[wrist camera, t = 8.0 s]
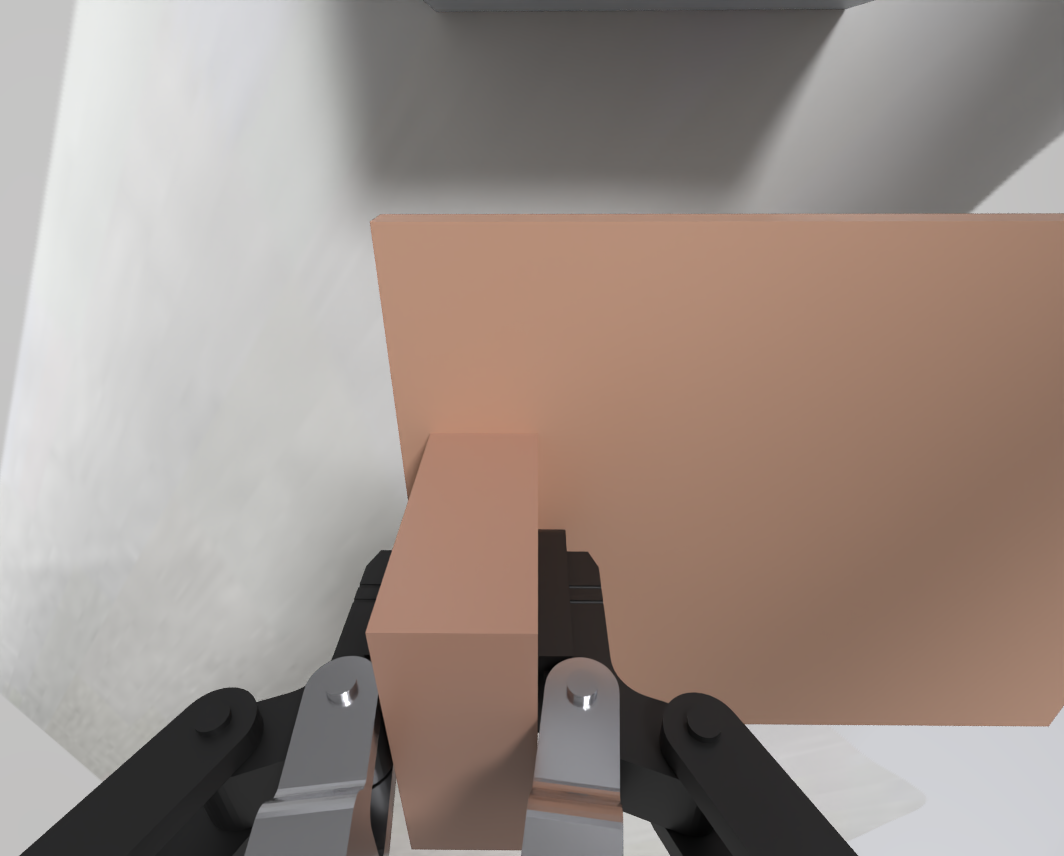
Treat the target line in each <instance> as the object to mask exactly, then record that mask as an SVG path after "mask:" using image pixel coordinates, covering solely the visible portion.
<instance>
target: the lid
mask: <svg viewBox="0 0 1064 856" xmlns="http://www.w3.org/2000/svg"><path fill="white" fill-rule="evenodd" d="M370 226H371V233H372V241H373V248H374V255H375V262H376V270H377V277H378V284H379V292H380V299H381V306H382V313H383V321H384V328H385V335H386V343H387V350H388V357H389V365H390V372H391V379H392V386H393V394H394V401H395V408H396V416H397V423H398V430H399V437H400V445H401V452H402V459H403V467H404V474H405V481H406V488H407V496H408V503H407V506H406V509H405V513H404V516H403V519H402V522H401V525H400V528H399V531H398V534H397V537H396V540H395V543H394V546H393V549H392V552H391V556H390V559H389V562H388V565H387V568H386V571H385V574H384V577H383V580H382V583H381V586H380V589H379V592H378V595H377V599H376V602H375V605H374V608H373V611H372V614H371V617H370V620H369V623H368V626H367V629H366V632H365V634H366V638H367V643H368V648H369V652H370V657H371V662H372V666H373V671H374V676H375V680H376V685H377V690H378V694H379V699H380V704H381V708H382V713H383V718H384V722H385V727H386V732H387V736H388V741H389V746H390V750H391V755H392V760H393V765H394V769H395V774H396V779H397V783H398V788H399V793H400V797H401V802H402V807H403V811H404V816H405V821H406V825H407V830H408V835H409V839H410V844H411V849H435V850H522V844H523V837H524V829H525V821H526V813H527V806H528V800H529V795H530V791H532V786H533V779H534V771H535V763H536V755H537V740H538V529H565V531H566V546H567V551H585V552H589V554H590V555H591V557H592V558H593V560H594V561H595V563H596V564H597V565H598V567H599V572H600V580H601V589H602V595H603V604H604V611H605V619H606V627H607V634H608V642H609V650H610V658H611V662H612V666H613V668H614V670H615V672H616V674H617V675H618V677H619V678H620V679H621V680H622V681H623V682H624V683H625V684H626V685H627V686H628V687H630V688H631V689H633V690H634V691H636V692H638V693H640V694H642V695H645V696H648V697H651V698H654V699H657V700H660V701H664V702H667V703H669V702H670V701H671V700H672V699H673V698H675V697H677V696H679V695H681V694H684V693H691V692H697V693H703V694H707V695H710V696H712V697H715V698H717V699H718V700H720V701H722V702H723V703H724V704H726V705H727V706H728V707H729V708H730V709H731V710H732V711H733V712H734V713H735V714H736V715H737V716H738V718H739V719H740V720H741V721H742V722H743V723H744V724H794V725H929V726H932V725H933V726H1049V725H1050V724H1051V722H1052V721H1053V720H1054V718H1055V717H1056V716H1057V714H1058V713H1059V711H1060V710H1061V709H1062V707H1063V706H1064V214H1063V213H1061V214H1060V213H1059V214H380V215H379V216H377V217H376V218H375V219H373V220H372V221H370Z"/></svg>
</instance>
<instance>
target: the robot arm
mask: <svg viewBox="0 0 1064 856" xmlns="http://www.w3.org/2000/svg"><path fill="white" fill-rule="evenodd" d="M391 552H392V550H381V551H380V552H379V553H378V554H377V555H376V556H375V557H374V559H373V560H372V561H371V562H370V563H369V564H368V565H367V566H366V569H365V571H364V574H363V577H362V579H361V582H360V588H358V590H357V593H356V596H355V598H354V602H353V604H352V607H351V609H350V612H349V615H348V617H347V620H346V623H345V625H344V628H343V631H342V634H341V636H340V639H339V642H338V644H337V647H336V650H335V653H334V655H333V658H332V660H331V661H330V662H328V663H326V664H325V665H323V666H322V667H320V668H319V669H318V670H317V671H316V672H315V673H314V674H313V675H312V676H311V677H310V679H309V680H308V682H307V684H306V686H305V687H303V688H301V689H299V690H296V691H294V692H291V693H288V694H284V695H280V696H277V697H273V698H270V699H266V700H263V701H259V702H256V701H255V698H254V697H253V696H252V694H251V693H249V692H248V691H246V690H244V689H241V688H223V689H219V690H216V691H213V692H210V693H208V694H206V695H204V696H202V697H201V698H199V699H198V700H196V701H195V702H193V703H192V704H191V705H190V706H188V707H187V708H186V709H185V710H184V711H183V712H182V713H181V714H179V715H178V716H177V717H176V718H175V719H174V720H173V721H171V722H170V723H169V724H168V725H167V726H166V727H165V728H164V729H162V730H161V731H160V732H159V733H158V734H157V735H156V736H154V737H153V738H152V739H151V740H150V741H149V742H148V743H147V744H145V745H144V746H143V747H142V748H141V749H140V750H139V751H137V752H136V753H135V754H134V755H133V756H132V757H131V758H130V759H128V760H127V761H126V762H125V763H124V764H123V765H122V766H120V767H119V768H118V769H117V770H116V771H115V772H114V773H113V774H111V775H110V776H109V777H108V778H107V779H106V780H105V781H103V782H102V783H101V784H100V785H99V786H98V787H97V788H96V789H94V790H93V791H92V792H91V793H90V794H89V795H88V796H86V797H85V798H84V799H83V800H82V801H81V802H80V803H79V804H77V805H76V806H75V807H74V808H73V809H72V810H71V811H69V812H68V813H67V814H66V815H65V816H64V817H63V818H62V819H60V820H59V821H58V822H57V823H56V824H55V825H54V826H52V827H51V828H50V829H49V830H48V831H47V832H46V833H45V834H43V835H42V836H41V837H40V838H39V839H38V840H37V841H35V842H34V843H33V844H32V845H31V846H30V847H29V848H28V849H26V850H25V851H24V852H23V853H22V854H21V855H20V856H389V850H390V839H391V829H392V818H393V807H394V797H395V786H396V774H395V769H394V765H393V760H392V755H391V750H390V746H389V741H388V736H387V732H386V727H385V722H384V718H383V713H382V708H381V704H380V699H379V694H378V690H377V685H376V680H375V676H374V671H373V666H372V662H371V657H370V652H369V648H368V643H367V638H366V634H365V632H366V629H367V626H368V623H369V620H370V617H371V614H372V611H373V608H374V605H375V602H376V599H377V595H378V592H379V589H380V586H381V583H382V580H383V577H384V574H385V571H386V568H387V565H388V562H389V559H390V556H391ZM538 733H539V739H538V747H537V755H536V763H535V771H534V779H533V786H532V791H530V795H529V800H528V806H527V813H526V821H525V829H524V837H523V844H522V852H521V856H623V812H626V813H628V814H631V815H634V816H636V817H639V818H641V819H644V820H647V821H649V822H651V824H652V826H653V828H654V830H655V831H656V833H657V835H658V836H659V838H660V840H661V841H662V843H663V844H664V846H665V848H666V849H667V851H668V853H669V854H670V856H858V855H857V854H856V853H855V852H854V850H853V849H852V848H851V847H850V846H849V845H848V844H847V842H846V841H845V840H844V839H843V838H842V837H841V835H840V834H839V833H838V832H837V831H836V830H835V828H834V827H833V826H832V825H831V824H830V823H829V822H828V820H827V819H826V818H825V817H824V816H823V815H822V813H821V812H820V811H819V810H818V809H817V808H816V807H815V805H814V804H813V803H812V802H811V801H810V800H809V798H808V797H807V796H806V795H805V794H804V793H803V792H802V790H801V789H800V788H799V787H798V786H797V785H796V783H795V782H794V781H793V780H792V779H791V778H790V777H789V775H788V774H787V773H786V772H785V771H784V770H783V768H782V767H781V766H780V765H779V764H778V763H777V762H776V760H775V759H774V758H773V757H772V756H771V755H770V753H769V752H768V751H767V750H766V749H765V748H764V747H763V745H762V744H761V743H760V742H759V741H758V740H757V738H756V737H755V736H754V735H753V734H752V733H751V732H750V730H749V729H748V728H747V727H746V726H745V725H744V723H743V722H742V721H741V720H740V719H739V718H738V716H737V715H736V714H735V713H734V712H733V711H732V710H731V709H730V708H729V707H728V706H727V705H726V704H724V703H723V702H722V701H720V700H718V699H717V698H715V697H712V696H710V695H707V694H703V693H697V692H691V693H684V694H681V695H679V696H677V697H675V698H673V699H672V700H671V701H670V702H669V703H667V702H664V701H660V700H657V699H654V698H651V697H648V696H645V695H642V694H640V693H638V692H636V691H634V690H633V689H631V688H630V687H628V686H627V685H626V684H625V683H624V682H623V681H622V680H621V679H620V678H619V677H618V675H617V674H616V672H615V670H614V668H613V666H612V662H611V658H610V650H609V642H608V634H607V627H606V619H605V611H604V604H603V595H602V589H601V580H600V572H599V567H598V565H597V564H596V563H595V561H594V560H593V558H592V557H591V555H590V554H589V552H585V551H567V546H566V531H565V529H538Z"/></svg>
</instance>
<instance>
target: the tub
mask: <svg viewBox="0 0 1064 856" xmlns="http://www.w3.org/2000/svg"><path fill="white" fill-rule="evenodd" d="M423 1H424V2H426V3H427V4H428V5H429V6H430V7H431V8H433V9H434V10H435V11H436V12H459V11H606V10H752V9H847V8H851V7H854V6H857V5H861V4H864V3H867V2H871V1H874V0H423Z"/></svg>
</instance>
